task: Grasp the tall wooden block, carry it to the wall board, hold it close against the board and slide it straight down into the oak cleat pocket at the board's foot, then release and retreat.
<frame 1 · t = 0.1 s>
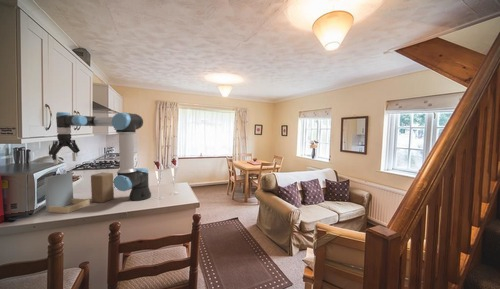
hand: (65, 162, 148), 28 cm above the countertop, fingers open, 13 cm apart
wooden block: (103, 200, 151), on the countertop
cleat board: (68, 207, 136), on the countertop
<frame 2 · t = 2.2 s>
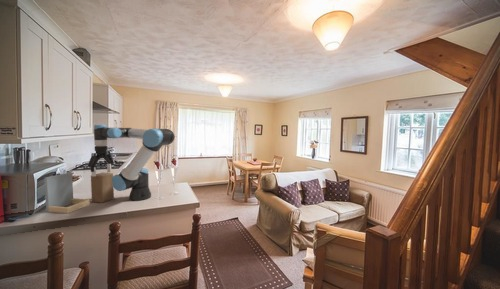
hand: (101, 174, 149), 20 cm above the countertop, fingers open, 13 cm apart
nothing on the countertop moved.
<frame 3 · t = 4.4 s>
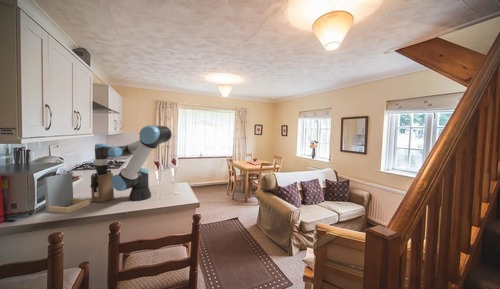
hand: (102, 193, 150), 5 cm above the countertop, fingers closed on wooden block, 10 cm apart
wooden block: (103, 200, 151), on the countertop, touching gripper
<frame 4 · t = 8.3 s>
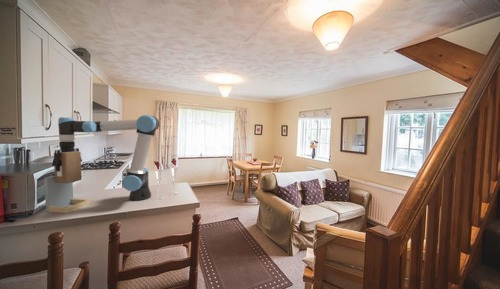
hand: (68, 174, 134), 23 cm above the countertop, fingers closed on wooden block, 10 cm apart
wooden block: (68, 181, 134), point 18 cm above the countertop, touching gripper
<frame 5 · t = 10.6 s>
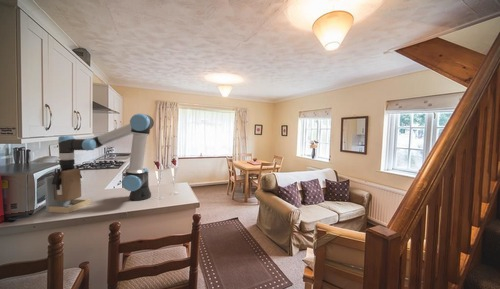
hand: (68, 191, 135), 11 cm above the countertop, fingers closed on wooden block, 10 cm apart
wooden block: (68, 199, 135), point 6 cm above the countertop, touching gripper
when the fingers open (7 cm above the countertop, at t = 12.3 s): wooden block drops 2 cm, resting in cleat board.
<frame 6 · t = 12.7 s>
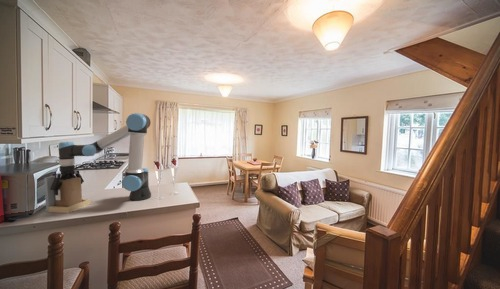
hand: (68, 196, 135), 8 cm above the countertop, fingers open, 13 cm apart
wooden block: (69, 207, 136), resting in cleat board
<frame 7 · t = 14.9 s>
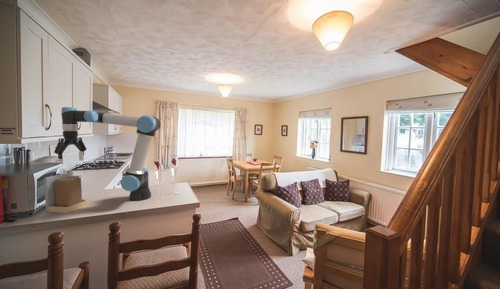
hand: (72, 162, 136), 31 cm above the countertop, fingers open, 13 cm apart
nothing on the countertop moved.
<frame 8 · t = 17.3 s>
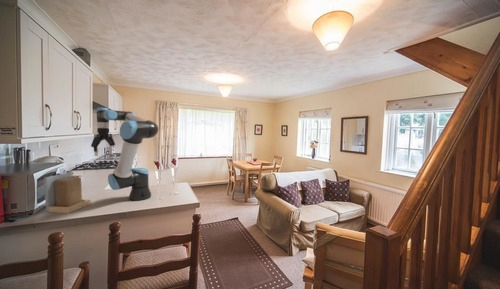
hand: (104, 154, 159), 33 cm above the countertop, fingers open, 13 cm apart
nothing on the countertop moved.
at the end: wooden block inside the target area (0.3 cm from its centre), resting in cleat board; wooden block tilted 0°; the gripper is holding nothing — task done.
